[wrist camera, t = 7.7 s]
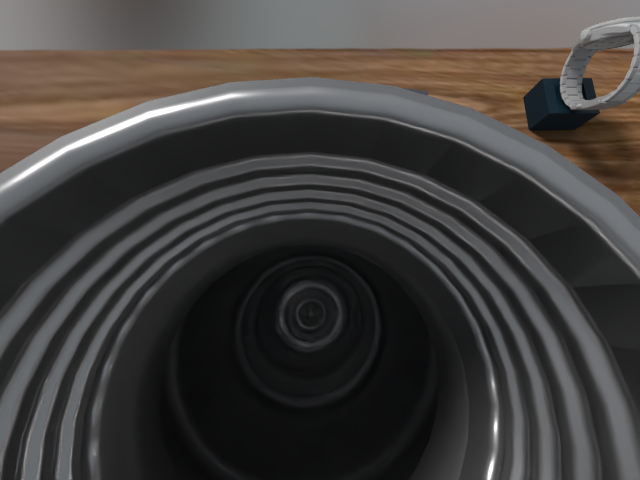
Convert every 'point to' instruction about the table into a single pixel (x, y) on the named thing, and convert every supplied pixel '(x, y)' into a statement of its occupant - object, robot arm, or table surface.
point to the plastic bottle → (314, 296)
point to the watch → (584, 80)
